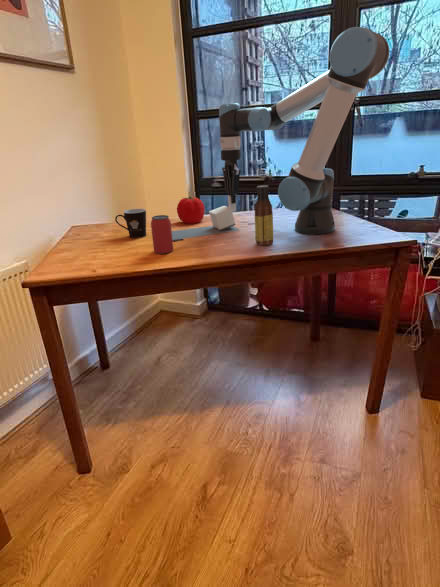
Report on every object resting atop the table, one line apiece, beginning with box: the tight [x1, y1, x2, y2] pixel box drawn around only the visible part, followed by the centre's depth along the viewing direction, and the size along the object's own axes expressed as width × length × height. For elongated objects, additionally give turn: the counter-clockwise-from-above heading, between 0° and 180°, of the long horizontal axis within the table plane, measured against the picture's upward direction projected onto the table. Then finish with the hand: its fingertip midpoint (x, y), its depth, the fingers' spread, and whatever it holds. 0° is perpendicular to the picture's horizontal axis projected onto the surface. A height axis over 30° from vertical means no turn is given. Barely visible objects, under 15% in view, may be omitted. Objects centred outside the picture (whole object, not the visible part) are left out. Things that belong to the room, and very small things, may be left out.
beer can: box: [150, 214, 174, 255], centre depth 129 cm, size 7×7×12 cm
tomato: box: [176, 196, 206, 225], centre depth 167 cm, size 12×13×12 cm
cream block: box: [208, 205, 236, 231], centre depth 153 cm, size 7×7×7 cm
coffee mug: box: [115, 208, 147, 239], centre depth 150 cm, size 12×9×10 cm
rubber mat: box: [172, 225, 240, 243], centre depth 152 cm, size 13×28×1 cm, turn 112°
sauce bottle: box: [254, 184, 274, 247], centre depth 130 cm, size 7×6×20 cm
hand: (232, 211), depth 154 cm, fingers closed
